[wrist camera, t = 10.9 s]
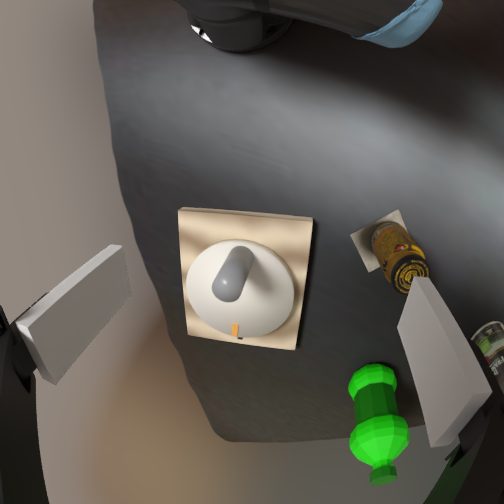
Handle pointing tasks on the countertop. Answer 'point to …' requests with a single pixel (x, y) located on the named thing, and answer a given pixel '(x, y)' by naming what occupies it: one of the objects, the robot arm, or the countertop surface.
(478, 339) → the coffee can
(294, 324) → the dial panel
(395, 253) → the condiment
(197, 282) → the dial
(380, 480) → the plastic bottle
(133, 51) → the countertop surface
